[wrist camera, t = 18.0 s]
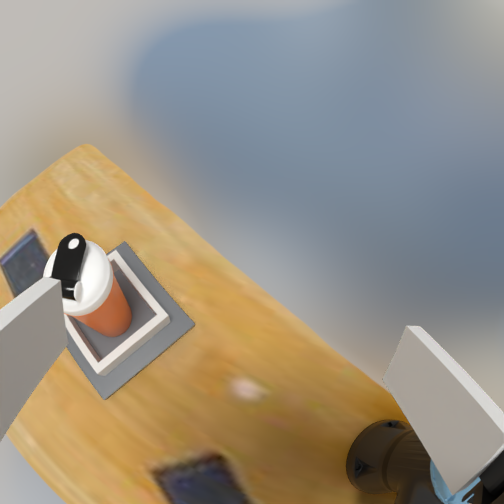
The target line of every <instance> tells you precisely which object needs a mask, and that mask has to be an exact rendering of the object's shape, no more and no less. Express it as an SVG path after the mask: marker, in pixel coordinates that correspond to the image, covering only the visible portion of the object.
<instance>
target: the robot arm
mask: <svg viewBox="0 0 504 504" xmlns="http://www.w3.org/2000/svg"><path fill="white" fill-rule="evenodd" d="M67 345H68V338H67V332H66V325H65V318H64V310H63V301H62V290H61V280H57V279H53V278H49V277H43V278H42V279H41V280H39V281H38V282H36V283H35V284H34V285H32V286H31V287H30V288H28V289H27V290H25V291H24V292H23V293H21V294H20V295H19V296H17V297H16V298H15V299H13V300H12V301H11V302H10V303H8V304H7V305H6V306H4V307H3V308H2V309H1V310H0V442H1V440H2V438H3V437H4V435H5V434H6V432H7V430H8V429H9V427H10V425H11V424H12V422H13V421H14V419H15V418H16V416H17V415H18V413H19V412H20V410H21V408H22V407H23V405H24V404H25V403H26V401H27V400H28V398H29V397H30V395H31V394H32V392H33V391H34V389H35V388H36V387H37V385H38V384H39V382H40V381H41V380H42V378H43V377H44V375H45V374H46V373H47V371H48V370H49V369H50V367H51V366H52V364H53V363H54V362H55V360H56V359H57V358H58V357H59V355H60V354H61V353H62V351H63V350H64V349H65V347H66V346H67ZM382 380H383V382H384V383H385V385H386V386H387V388H388V390H389V391H390V393H391V394H392V396H393V397H394V399H395V400H396V402H397V404H398V405H399V407H400V408H401V410H402V412H403V413H404V415H405V416H406V418H407V420H408V421H409V423H410V424H411V425H409V424H407V423H405V422H403V421H399V420H382V421H379V422H376V423H374V424H372V425H370V426H369V427H367V428H366V429H365V430H364V431H363V432H362V433H361V434H360V435H359V436H358V437H357V438H356V440H355V441H354V443H353V445H352V447H351V449H350V451H349V454H348V458H347V465H346V468H347V475H348V478H349V480H350V482H351V483H352V484H353V486H355V487H356V488H357V489H359V490H361V491H364V492H366V493H370V494H382V493H390V492H396V493H397V497H396V500H395V503H394V504H469V503H471V504H504V413H503V411H501V409H500V408H499V407H498V406H497V405H496V404H495V402H494V401H493V400H492V399H491V398H490V397H489V396H488V395H487V394H486V393H485V391H484V390H483V389H481V387H480V386H479V385H478V384H477V383H476V382H475V381H474V380H473V379H472V378H471V377H470V376H469V375H468V373H467V372H466V371H465V370H464V369H463V368H462V367H461V366H460V365H459V364H458V363H457V362H456V361H455V360H454V359H453V358H452V357H451V356H450V355H449V354H448V353H447V352H446V351H445V350H444V349H443V348H442V347H441V346H440V345H439V344H438V343H437V342H436V341H435V340H434V339H433V338H432V337H431V336H429V334H428V333H426V332H425V331H424V330H423V329H422V328H421V327H420V326H406V328H405V331H404V333H403V335H402V338H401V340H400V342H399V345H398V347H397V349H396V351H395V354H394V356H393V358H392V360H391V362H390V364H389V366H388V368H387V371H386V373H385V375H384V377H383V379H382Z"/></svg>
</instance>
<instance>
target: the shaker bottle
mask: <svg viewBox="0 0 504 504" xmlns="http://www.w3.org/2000/svg"><path fill="white" fill-rule="evenodd" d="M43 277H49V278H53V279H57V280H61V290H62V301H63V310H64V314H67V315H70V316H73V317H74V318H76V319H77V320H79V321H81V322H82V323H84V324H86V325H87V326H89V327H91V328H92V329H94V330H96V331H97V332H99V333H101V334H103V335H104V336H108V337H117V336H119V335H121V334H123V333H124V332H125V331H126V330H127V329H128V328H129V326H130V324H131V320H132V312H131V309H130V306H129V304H128V302H127V300H126V298H125V296H124V294H123V292H122V290H121V288H120V286H119V284H118V282H117V280H116V278H115V276H114V273H113V268H112V264H111V262H110V260H109V259H108V257H107V255H106V254H105V252H104V251H103V250H102V248H101V247H99V246H98V245H97V244H95V243H93V242H91V241H87V240H85V239H84V238H83V236H82V235H80V234H78V233H72V234H69V235H67V236H66V237H64V238H63V239H62V240H61V242H60V243H59V246H58V249H57V250H55V252H54V253H53V254H52V255H51V257H50V258H49V260H48V262H47V264H46V267H45V270H44V275H43Z"/></svg>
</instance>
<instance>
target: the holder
mask: <svg viewBox="0 0 504 504" xmlns="http://www.w3.org/2000/svg"><path fill="white" fill-rule="evenodd" d="M106 255H107V257H108V259H109V260H110V262H111V264H112V268H113V273H114V276H115V278H116V280H117V282H118V284H119V286H120V288H121V290H122V292H123V294H124V296H125V298H126V300H127V302H128V304H129V306H130V309H131V312H132V320H131V324H130V326H129V328H128V329H127V330H126V331H125V332H124V333H123V334H121V335H119V336H117V337H108V336H104V335H103V334H101V333H99V332H97V331H96V330H94V329H92V328H91V327H89V326H87V325H86V324H84V323H82V322H81V321H79V320H77V319H76V318H74V317H73V316H70V315H67V314H64V318H65V325H66V332H67V338H68V345H67V346H66V347H67V348H68V350H69V352H70V353H71V355H72V356H73V358H74V359H75V361H76V362H77V364H78V365H79V367H80V368H81V370H82V371H83V373H84V374H85V375H86V377H87V378H88V380H89V381H90V382H91V384H92V385H93V386H94V388H95V389H96V390H97V392H98V393H99V394H100V396H101V397H102V398H103V400H106V399H108V398H109V397H110V396H111V395H113V394H114V393H115V392H116V391H117V390H119V389H120V388H121V387H122V386H123V385H125V384H126V383H127V382H128V381H130V380H131V379H132V378H133V377H134V376H136V375H137V374H138V373H139V372H140V371H142V370H143V369H144V368H145V367H146V366H148V365H149V364H150V363H151V362H152V361H154V360H155V359H156V358H157V357H158V356H160V355H161V354H162V353H163V352H164V351H166V350H167V349H168V348H169V347H170V346H171V345H173V344H174V343H175V342H176V341H177V340H179V339H180V338H181V337H182V336H183V335H184V334H186V333H187V332H188V331H189V330H190V329H191V328H193V327H194V326H195V323H194V322H193V321H192V320H191V319H190V318H189V317H188V316H187V315H186V313H185V312H184V311H183V310H182V309H181V308H180V307H179V306H178V305H177V303H176V302H175V301H174V300H173V299H172V298H171V297H170V295H169V294H168V293H167V292H166V291H165V290H164V288H163V287H162V286H161V285H160V284H159V283H158V281H157V280H156V279H155V278H154V277H153V275H152V274H151V273H150V272H149V271H148V269H147V268H146V267H145V266H144V264H143V263H142V262H141V261H140V259H139V258H138V257H137V256H136V254H135V253H134V252H133V251H132V249H131V248H130V247H129V246H128V244H127V243H126V242H125V241H124V242H123V243H121V244H120V245H119V246H117V247H116V248H115V249H113V250H112V251H110V252H109V253H108V254H106Z"/></svg>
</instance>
